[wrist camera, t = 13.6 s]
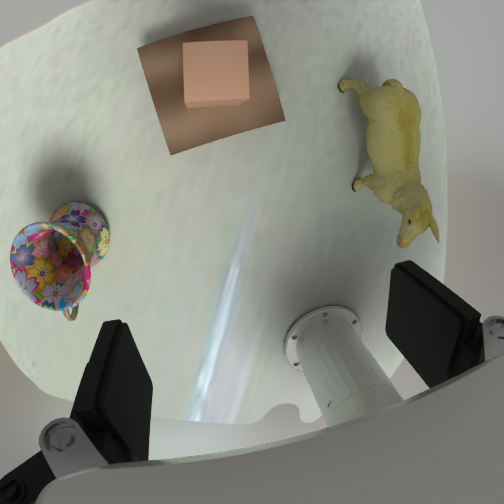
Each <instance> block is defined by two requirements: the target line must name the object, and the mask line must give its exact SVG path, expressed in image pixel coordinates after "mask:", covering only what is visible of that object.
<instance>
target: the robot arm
mask: <svg viewBox="0 0 504 504" xmlns="http://www.w3.org/2000/svg"><path fill="white" fill-rule="evenodd" d="M480 317H481V314H480V313H479V312H478V311H477V310H475V309H474V308H473V307H472V306H470V305H469V304H468V303H467V302H465V301H464V300H463V299H462V298H460V297H459V296H458V295H456V294H455V293H454V292H453V291H451V290H450V289H449V288H447V287H446V286H445V285H444V284H442V283H441V282H440V281H438V280H437V279H436V278H434V277H433V276H432V275H430V274H429V273H428V272H426V271H425V270H423V269H422V268H421V267H419V266H418V265H417V264H415V263H414V262H412V261H411V260H408V261H404V262H400V263H397V264H395V266H394V268H393V269H392V270H391V278H390V290H389V301H388V310H387V319H386V328H385V329H386V334H387V336H388V338H389V339H390V340H391V341H392V342H393V344H394V345H395V346H396V347H397V348H398V350H399V351H400V352H401V353H402V354H403V356H404V357H405V358H406V359H407V361H408V362H409V363H410V364H411V365H412V367H413V368H414V369H415V370H416V372H417V373H418V374H419V375H420V377H421V378H422V379H423V380H424V382H425V383H426V384H427V386H428V387H429V388H430V389H428V390H426V391H424V392H422V393H420V394H417V395H415V396H413V397H410V398H408V399H406V400H404V399H403V398H402V397H401V395H400V394H399V392H398V391H397V389H396V388H395V387H394V385H393V384H392V382H391V381H390V379H389V378H388V377H387V375H386V374H385V372H384V371H383V370H382V368H381V367H380V365H379V364H378V363H377V361H376V360H375V358H374V357H373V356H372V354H371V353H370V351H369V350H368V349H367V347H366V346H365V345H364V343H363V342H362V340H361V334H362V327H361V323H360V321H359V319H358V318H357V316H356V315H355V314H354V313H353V312H352V311H350V310H349V309H347V308H345V307H341V306H326V307H321V308H318V309H315V310H313V311H311V312H309V313H307V314H306V315H304V316H303V317H302V318H300V319H299V320H298V321H297V322H296V323H295V324H294V325H293V326H292V328H291V329H290V331H289V332H288V334H287V336H286V339H285V343H284V352H285V356H286V358H287V360H288V362H289V364H290V365H291V366H292V367H293V368H295V369H296V370H298V371H300V372H304V374H305V376H306V378H307V381H308V383H309V385H310V388H311V390H312V392H313V394H314V397H315V399H316V401H317V403H318V406H319V408H320V410H321V412H322V415H323V417H324V419H325V421H326V424H327V426H328V428H325V429H322V430H318V431H315V432H311V433H307V434H303V435H300V436H296V437H292V438H288V439H284V440H280V441H276V442H271V443H266V444H262V445H257V446H252V447H247V448H242V449H236V450H231V451H225V452H218V453H212V454H205V455H197V456H189V457H181V458H173V459H163V460H150V461H148V455H149V435H150V418H151V406H152V394H153V385H152V381H151V378H150V376H149V374H148V372H147V369H146V367H145V365H144V363H143V360H142V358H141V356H140V353H139V351H138V349H137V346H136V344H135V341H134V339H133V337H132V334H131V332H130V329H129V327H128V325H127V323H122V321H121V320H119V319H118V320H112V321H105V322H103V324H102V327H101V330H100V332H99V335H98V338H97V340H96V343H95V346H94V349H93V351H92V354H91V357H90V360H89V362H88V363H87V365H86V367H85V370H84V373H83V376H82V379H81V382H80V385H79V388H78V391H77V395H76V398H75V401H74V405H73V408H72V411H71V415H70V418H59V419H55V420H53V421H51V422H50V423H49V424H47V425H46V426H45V427H44V429H43V430H42V432H41V434H40V436H39V445H40V448H41V451H39V452H38V453H36V454H35V455H34V456H32V457H31V458H29V459H28V460H27V461H25V462H24V463H23V464H21V465H20V466H18V467H17V468H15V469H14V470H12V471H11V472H9V473H8V474H7V475H5V476H4V477H3V478H2V479H1V480H0V504H504V317H502V316H491V317H488V318H487V319H486V320H484V322H483V324H482V323H481V322H480V321H479V320H480Z"/></svg>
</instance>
